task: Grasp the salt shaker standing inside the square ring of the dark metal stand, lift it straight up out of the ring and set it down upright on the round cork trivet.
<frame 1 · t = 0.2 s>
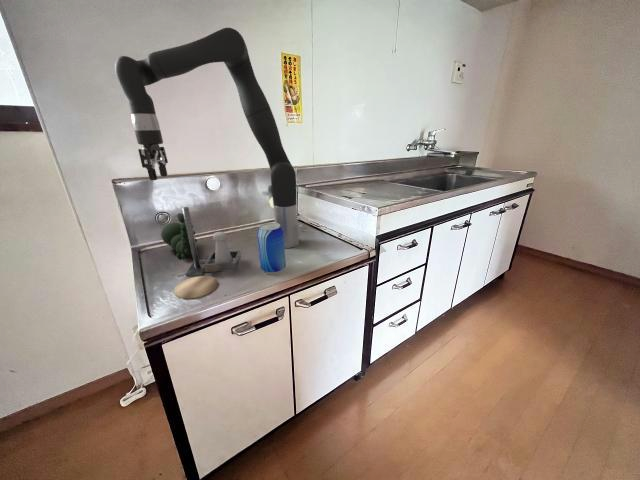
hand: (159, 178, 94), 29 cm above the table, fingers open, 8 cm apart
toy figurine: (183, 253, 103), on the table
salt shaker: (225, 268, 92), on the table
ring stand: (225, 267, 92), on the table
trivet: (196, 287, 80), on the table
beer can: (273, 270, 90), on the table
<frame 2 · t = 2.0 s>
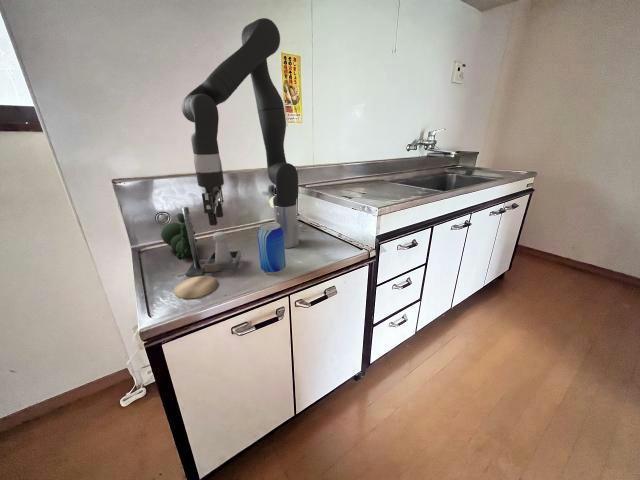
hand: (217, 220, 85), 17 cm above the table, fingers open, 8 cm apart
nothing on the table moved.
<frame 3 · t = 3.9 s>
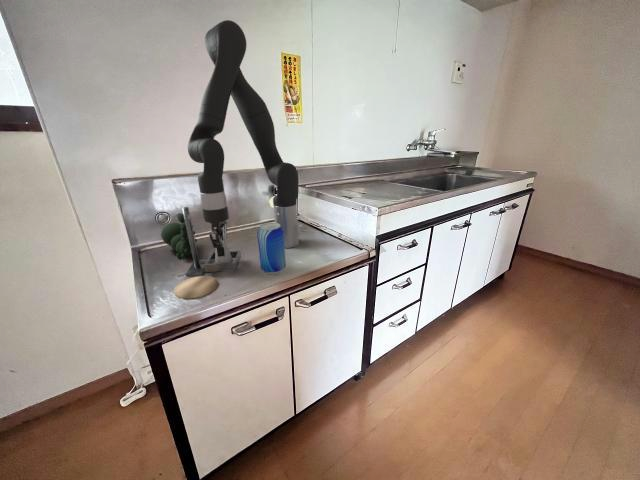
hand: (222, 254, 90), 5 cm above the table, fingers closed on salt shaker, 3 cm apart
salt shaker: (225, 268, 92), on the table, touching gripper
everything else where it was.
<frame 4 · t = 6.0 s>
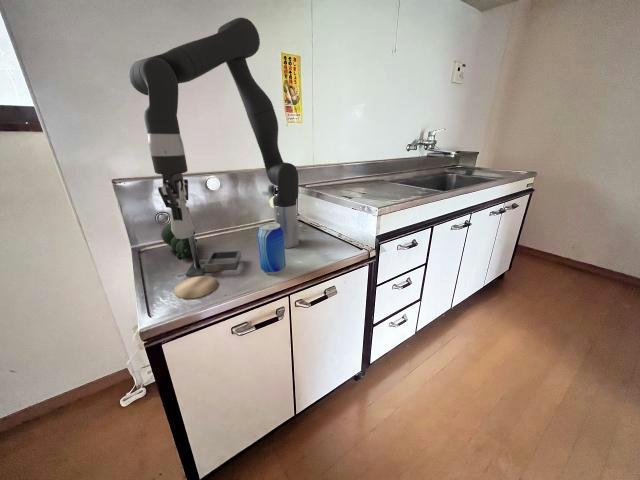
hand: (181, 219, 72), 22 cm above the table, fingers closed on salt shaker, 3 cm apart
salt shaker: (184, 237, 74), point 16 cm above the table, touching gripper
everything else where it was.
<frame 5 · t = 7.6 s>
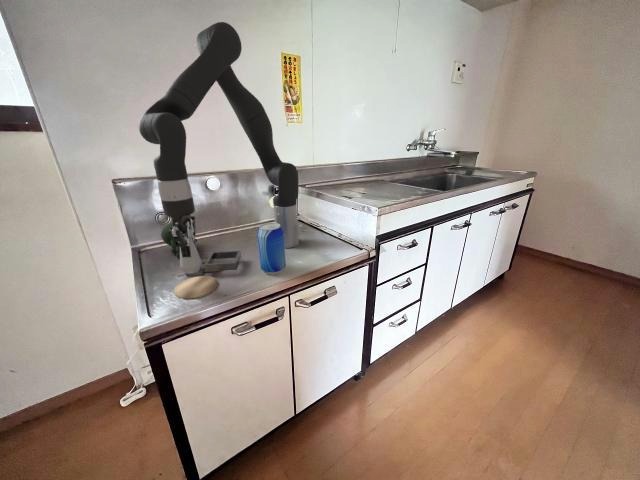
hand: (189, 254, 76), 11 cm above the table, fingers closed on salt shaker, 3 cm apart
salt shaker: (192, 271, 78), point 6 cm above the table, touching gripper
everything else where it was.
when the fingers open (7 cm above the table, at t = 8.5 s): salt shaker drops 1 cm, resting on trivet.
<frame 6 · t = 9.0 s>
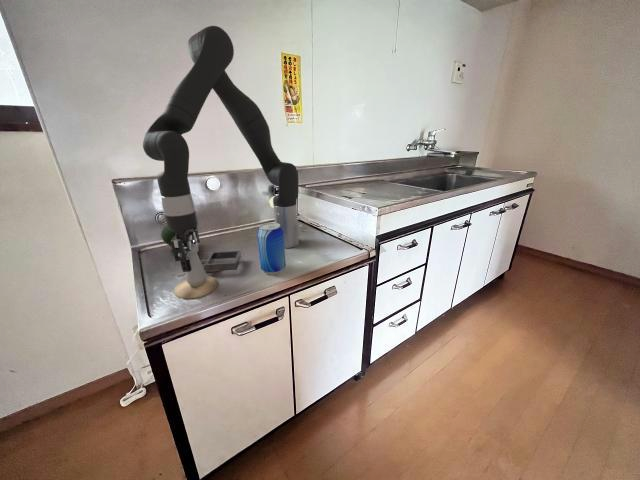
hand: (191, 264, 77), 8 cm above the table, fingers open, 7 cm apart
salt shaker: (197, 284, 81), resting on trivet
everything else where it was.
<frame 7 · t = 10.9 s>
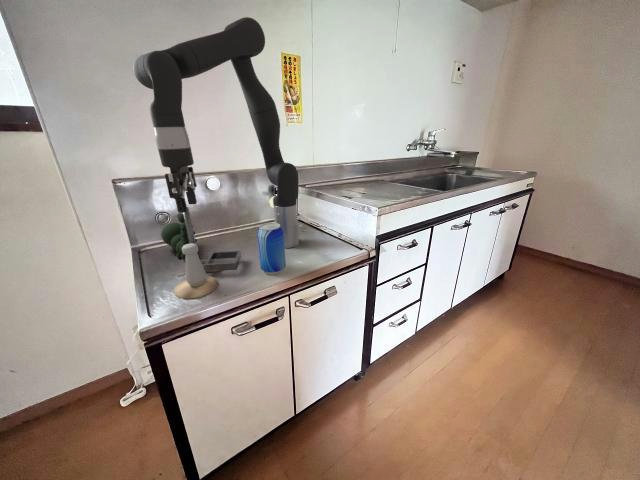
hand: (188, 207, 73), 24 cm above the table, fingers open, 8 cm apart
nothing on the table moved.
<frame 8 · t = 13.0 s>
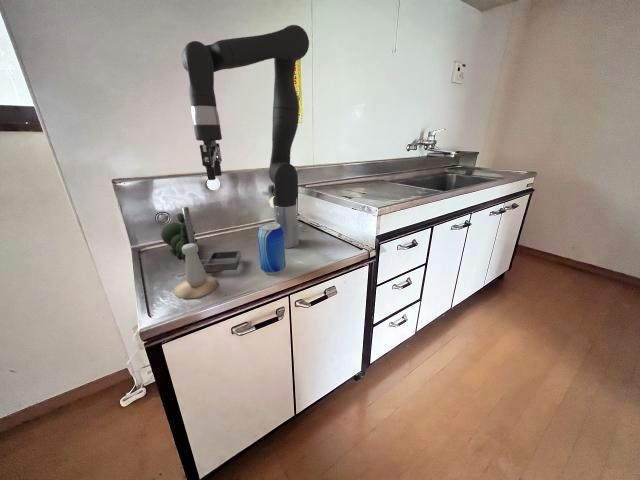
hand: (215, 177, 86), 30 cm above the table, fingers open, 8 cm apart
nothing on the table moved.
at the end: salt shaker 1.3 cm from the trivet (horizontally); salt shaker tilted 0°; salt shaker resting on trivet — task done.
